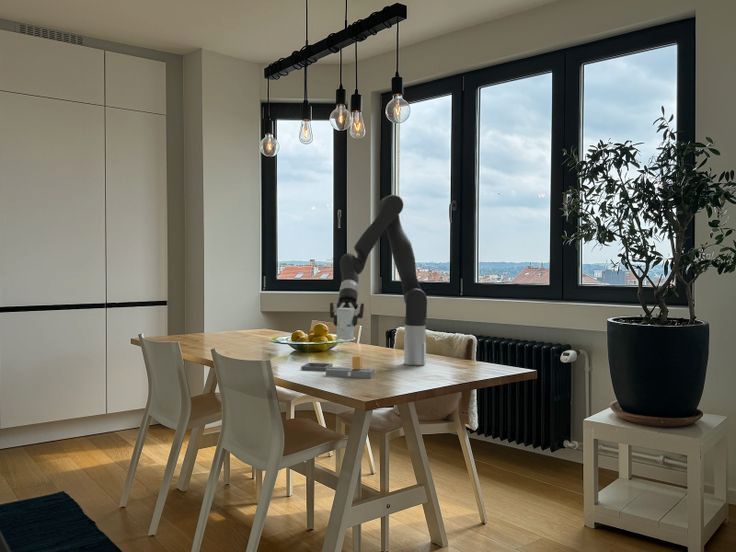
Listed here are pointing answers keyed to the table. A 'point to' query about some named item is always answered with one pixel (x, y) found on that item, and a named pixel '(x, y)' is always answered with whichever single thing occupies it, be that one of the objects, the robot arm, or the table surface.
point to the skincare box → (345, 323)
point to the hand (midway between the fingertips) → (345, 324)
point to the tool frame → (316, 366)
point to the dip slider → (357, 362)
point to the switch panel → (349, 372)
